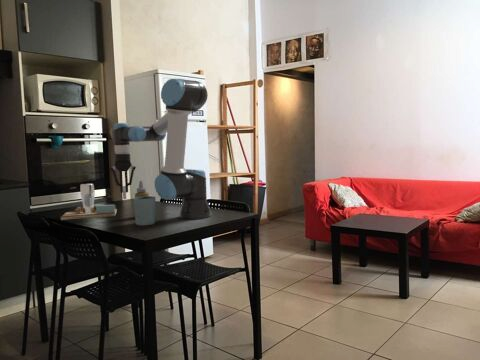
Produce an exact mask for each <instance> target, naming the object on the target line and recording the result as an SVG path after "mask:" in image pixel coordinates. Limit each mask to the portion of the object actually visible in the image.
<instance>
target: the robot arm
mask: <svg viewBox="0 0 480 360" xmlns="http://www.w3.org/2000/svg"><path fill="white" fill-rule="evenodd" d="M208 94H209V93H208V90H207V88H206V86H205V85H204V84H203V83H202V82H200V81H198V80H191V79H183V78H170V79H168V80H166V82H165V83H164V84H163V85H162V88H161V91H160V98H161V101H162V103H163V104H164V105H165V110H166V111H167V112H166V113H165V114H164V115H162V117H160V118H159V119H158V120H156V121H155V122H154V123H153V124H152V125H149V126H139V125H134V126H129V124H128V123H127V122H120V123H119V122H117V123H114V124H113V131H112V133H113V142H114V146H113V147H114V165H113V166H111V167H110V171H111V172H112V174H113V178H114V181H115V184H116V186H117V187H119V190H120V191H119V192H120V194H122V199H123V200H127V193H129V186H131V185H132V181H133V178H134V172H135V170H136V168H137V167H136V166H135V165H133V164H132V162H131V154H130V152H131V150H130V149H131V147H130V146H131V145H130V143H132V142H133V143H134V142H135V143H140V142H161V141H164V140H165V137H166V143H165V145H166V147H165V157H164V158H165V159H164V166H163V167H162V168H160V174H159V175H156V178H155V179H154V189H155V192H156V194H157V195H158V196H159V197H160V198H161V199H162V200H166V201H167V200H175V199H181V198H182V203H181V207H180V211H179V219H185V220H196V219H197V220H199V219H206V218H210V217H211V216H212V212H211V208H210V206H209V203H208V200H207V177H206V176H207V175H206V172H205V171H204V170H202V169H190V168H189V169H188V168H187V169H186V168H185V155H186V144H187V135H188V134H187V130H188V121H189V116H190V115H191V114H192V113H196V112H198V111H199V110H200V109H201V108H202V107H204V105H205V104H206V103H207V100H208ZM116 169H117V171H118V172H119V179H118V175H117V173H116V172H117V171H116ZM129 169H131V172H130V175H129V176H130V177H129V179H128V171H129ZM123 172H124V183H123Z"/></svg>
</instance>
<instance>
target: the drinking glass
mask: <svg viewBox="0 0 480 360" xmlns="http://www.w3.org/2000/svg"><path fill="white" fill-rule="evenodd" d="M132 204H133V211H134V218H135V225H137V226H150V225H154V224H155V223H156V196H153V195H152V196H145V197H135V196H134V197H133V198H132Z"/></svg>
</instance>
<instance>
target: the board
mask: <svg viewBox="0 0 480 360" xmlns="http://www.w3.org/2000/svg"><path fill="white" fill-rule="evenodd" d="M96 206H97V205H94V209H95V212H94V213H83V206H77V207H76V208H75V209H74V211H68V212H65V213H64V214H63V215H61V216H60V220H61V221H66V220H79V219H93V218H107V217H108V218H110V217H116V215H117V212H118V211H117V210H118V209H117V208H115V212H113V213H98V214H97V212H96Z"/></svg>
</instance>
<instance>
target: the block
mask: <svg viewBox="0 0 480 360" xmlns="http://www.w3.org/2000/svg"><path fill="white" fill-rule="evenodd" d="M95 206H96V212H97V214H98V213H113V212H115V209H116V204H104V205H103V204H102V205H95Z"/></svg>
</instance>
